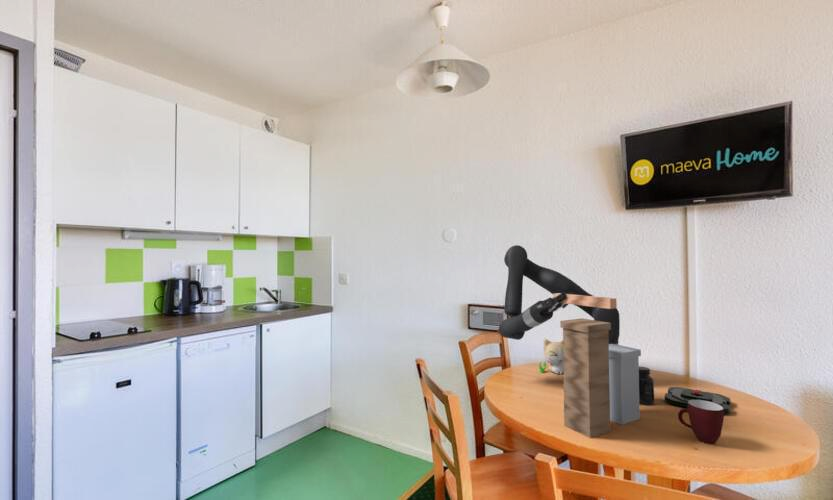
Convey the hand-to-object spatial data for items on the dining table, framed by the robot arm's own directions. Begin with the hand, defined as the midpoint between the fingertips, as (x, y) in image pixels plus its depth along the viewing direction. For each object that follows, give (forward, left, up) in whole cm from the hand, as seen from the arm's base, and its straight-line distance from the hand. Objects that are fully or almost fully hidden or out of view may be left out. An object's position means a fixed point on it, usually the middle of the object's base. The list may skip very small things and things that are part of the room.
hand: (569, 294), depth 130 cm
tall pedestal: (+3, +15, -39) cm, 42 cm away
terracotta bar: (-2, +5, -3) cm, 6 cm away
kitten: (-13, -40, -39) cm, 57 cm away
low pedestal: (-12, +8, -39) cm, 41 cm away
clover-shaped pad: (-46, 0, -39) cm, 61 cm away
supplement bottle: (-28, -3, -39) cm, 48 cm away
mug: (-25, +25, -39) cm, 53 cm away
